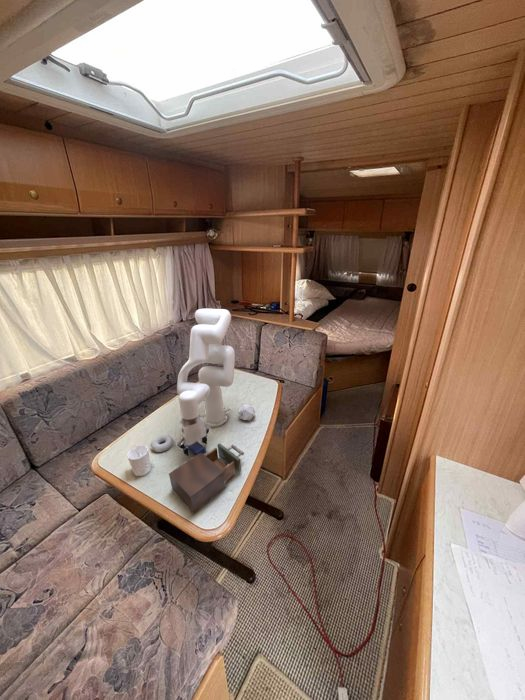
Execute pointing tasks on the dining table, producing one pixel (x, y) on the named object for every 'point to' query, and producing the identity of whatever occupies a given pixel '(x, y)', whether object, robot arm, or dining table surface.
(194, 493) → the cabinet
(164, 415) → the dining table surface
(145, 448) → the white cup
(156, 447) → the donut
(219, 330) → the robot arm
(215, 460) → the drawer
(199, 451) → the tall navy block
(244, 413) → the die
